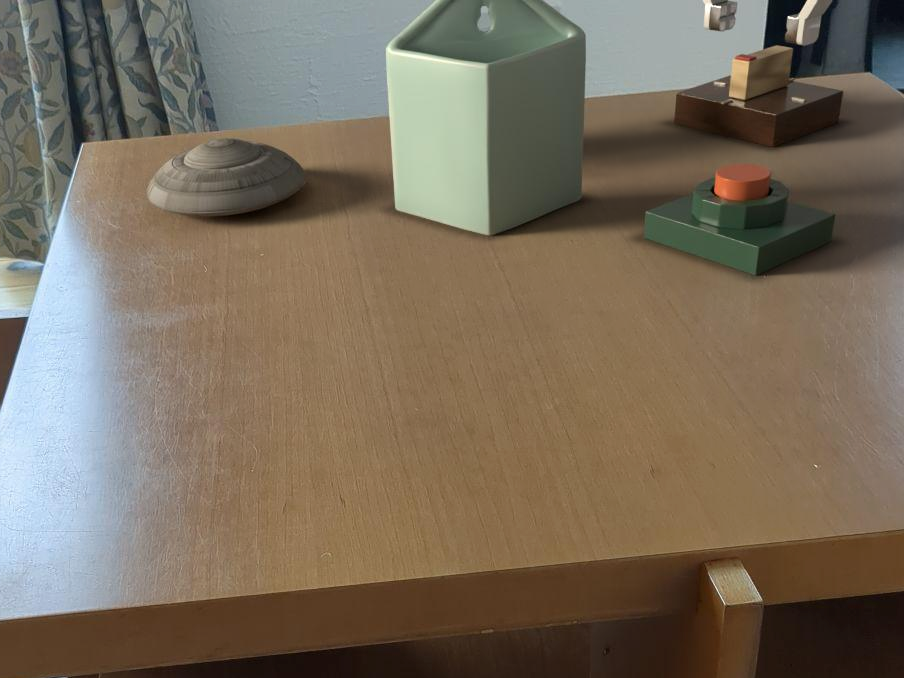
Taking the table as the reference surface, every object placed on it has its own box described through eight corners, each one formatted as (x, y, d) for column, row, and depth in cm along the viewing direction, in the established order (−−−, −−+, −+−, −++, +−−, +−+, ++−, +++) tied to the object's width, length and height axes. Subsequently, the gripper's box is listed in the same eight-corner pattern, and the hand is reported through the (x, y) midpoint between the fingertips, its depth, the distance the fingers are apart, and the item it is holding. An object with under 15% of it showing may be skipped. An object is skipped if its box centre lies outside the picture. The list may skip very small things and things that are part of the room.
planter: (392, 241, 96) (375, -16, 85) (395, 207, 103) (379, -36, 91) (590, 230, 95) (600, -33, 83) (580, 197, 101) (588, -52, 90)
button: (779, 194, 88) (782, 171, 87) (744, 207, 87) (747, 185, 86) (736, 182, 91) (739, 160, 90) (702, 195, 89) (704, 173, 88)
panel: (840, 121, 113) (846, 88, 111) (770, 148, 108) (774, 113, 106) (741, 100, 121) (744, 68, 119) (671, 124, 116) (674, 91, 114)
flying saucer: (141, 187, 113) (130, 131, 110) (291, 164, 115) (284, 107, 112) (157, 240, 101) (146, 177, 98) (324, 212, 103) (317, 150, 100)
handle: (771, 82, 115) (776, 42, 112) (788, 85, 113) (793, 45, 111) (728, 96, 112) (732, 56, 110) (745, 100, 110) (749, 59, 108)
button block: (831, 241, 89) (839, 190, 87) (755, 275, 85) (762, 223, 83) (717, 208, 97) (722, 160, 94) (643, 237, 93) (646, 188, 90)
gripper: (965, -199, 68) (918, 47, 76) (695, -198, 82) (679, 10, 90) (902, -187, 66) (860, 67, 74) (633, -188, 80) (622, 26, 88)
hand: (758, 36), depth 82 cm, fingers open, 6 cm apart
